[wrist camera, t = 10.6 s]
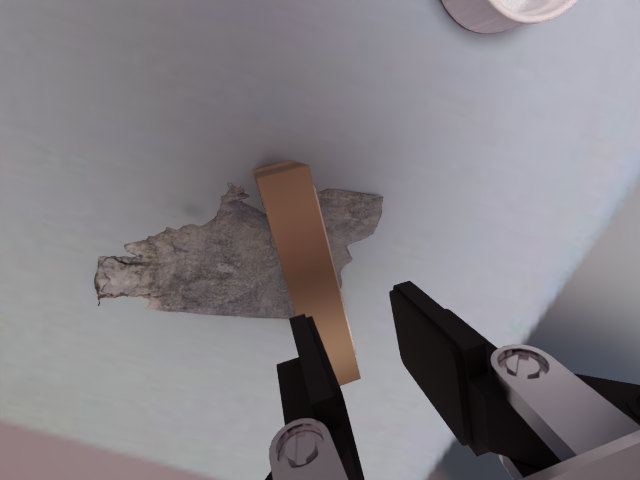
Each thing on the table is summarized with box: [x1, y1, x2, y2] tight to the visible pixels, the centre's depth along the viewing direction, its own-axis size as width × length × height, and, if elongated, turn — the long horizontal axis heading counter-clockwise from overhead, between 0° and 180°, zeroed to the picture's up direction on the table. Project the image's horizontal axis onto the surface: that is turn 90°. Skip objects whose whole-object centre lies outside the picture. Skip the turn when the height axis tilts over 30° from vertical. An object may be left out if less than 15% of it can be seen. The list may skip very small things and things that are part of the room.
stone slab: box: [94, 183, 383, 319], centre depth 23 cm, size 18×2×10 cm
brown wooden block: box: [253, 160, 361, 386], centre depth 20 cm, size 12×3×6 cm, turn 13°
